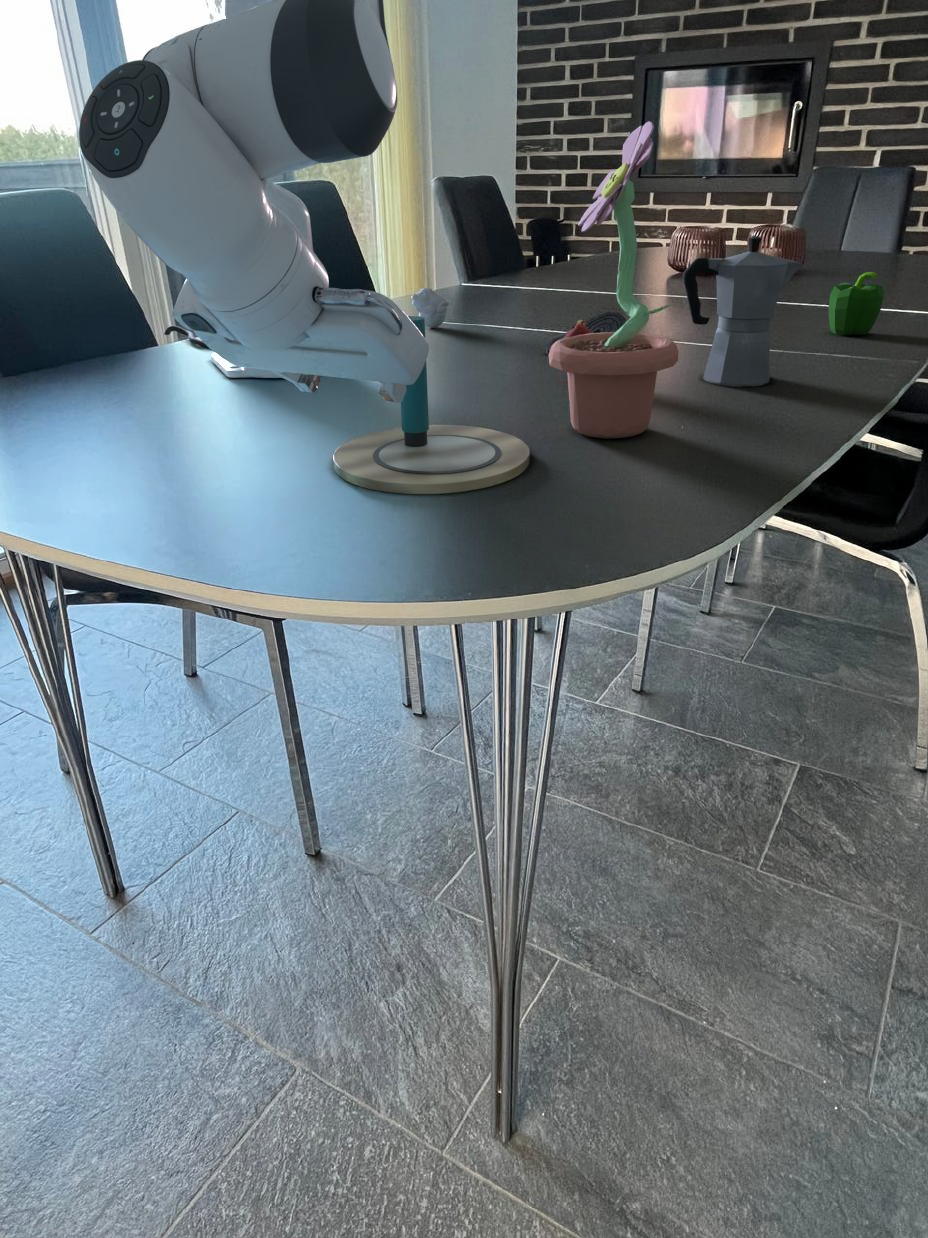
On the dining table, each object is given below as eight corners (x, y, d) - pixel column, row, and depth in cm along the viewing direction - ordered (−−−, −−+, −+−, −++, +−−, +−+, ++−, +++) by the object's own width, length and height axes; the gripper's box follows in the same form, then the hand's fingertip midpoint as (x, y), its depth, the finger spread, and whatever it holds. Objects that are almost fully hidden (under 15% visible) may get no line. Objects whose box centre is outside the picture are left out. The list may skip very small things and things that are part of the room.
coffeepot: (771, 370, 119) (792, 232, 111) (796, 386, 111) (822, 237, 102) (664, 373, 119) (677, 235, 110) (681, 389, 111) (697, 240, 102)
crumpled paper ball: (411, 325, 159) (409, 286, 156) (448, 324, 160) (447, 285, 156) (413, 331, 154) (411, 290, 150) (451, 329, 154) (450, 289, 151)
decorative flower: (542, 412, 102) (550, 126, 87) (657, 411, 101) (683, 123, 87) (550, 449, 88) (560, 119, 74) (681, 447, 88) (717, 116, 74)
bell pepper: (811, 332, 145) (822, 270, 140) (846, 328, 148) (858, 267, 143) (849, 340, 139) (862, 275, 134) (885, 335, 142) (899, 272, 137)
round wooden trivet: (300, 456, 88) (298, 446, 87) (454, 423, 98) (454, 414, 97) (401, 510, 74) (400, 498, 73) (570, 465, 84) (570, 454, 83)
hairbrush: (526, 335, 132) (593, 305, 150) (526, 358, 134) (592, 326, 152) (574, 339, 128) (636, 308, 146) (573, 364, 130) (635, 330, 148)
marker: (397, 443, 88) (390, 318, 82) (419, 438, 89) (414, 314, 83) (412, 449, 86) (405, 321, 80) (434, 444, 87) (430, 318, 81)
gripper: (396, 256, 60) (465, 369, 72) (187, 250, 69) (280, 352, 81) (365, 331, 58) (441, 434, 70) (156, 315, 67) (255, 409, 79)
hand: (353, 390), depth 76 cm, fingers open, 8 cm apart
